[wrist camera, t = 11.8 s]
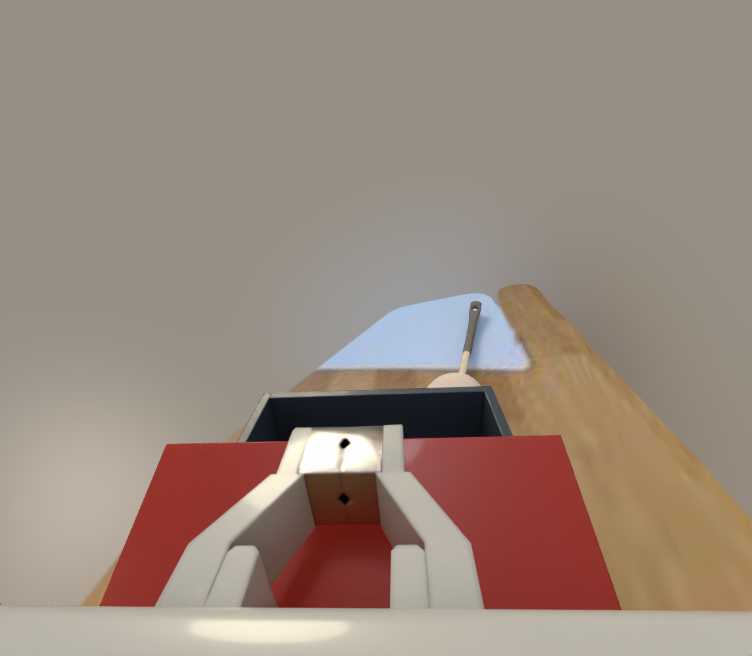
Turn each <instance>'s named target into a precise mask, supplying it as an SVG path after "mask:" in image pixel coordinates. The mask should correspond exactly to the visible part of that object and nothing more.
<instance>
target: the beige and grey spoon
mask: <svg viewBox="0 0 752 656" xmlns="http://www.w3.org/2000/svg"><path fill="white" fill-rule="evenodd" d="M472 309H478V310H477V311H473V310H472ZM480 311H481V302H478V301H474V302H471V305H470V312H469V325H468V330H467V336H466V341H465V345H464V349H463V356H462V360H461V364H460V368H459V372H458V373H448V374H445V375H441V376H440V377H438V378H437V379H435V380H434V381H433V382H432V383H431V384H430V385H429V386H428V387H427V388H441V387H472V386H481V385H480V384H479V383H478V382H477V381H476V380H475V379H474V378H472V377H471V376H469V375H467V374H466V371H467V366H468V361H469V356H470V354H471V349H472V344H473V339H474V334H475V329H476V324H477V320H478V317H479V314H480Z"/></svg>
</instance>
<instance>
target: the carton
mask: <svg viewBox="0 0 752 656" xmlns="http://www.w3.org/2000/svg"><path fill="white" fill-rule="evenodd" d="M401 424H402V426H403V439H414V438H458V437H502V436H513V435H512V433H511V430H510V428H509V426H508V424H507V421H506V419H505V417H504V414H503V412H502V410H501V408H500V405H499V403H498V401H497V398H496V396H495V394H494V392H493V389H492V387H491V386H483V387H482V386H472V387H441V388H411V389H380V390H350V391H319V392H289V393H264V394H263V396H262V397H261V399H260V401H259V403H258V405H257V406H256V408H255V410H254V412H253V414H252V415H251V417H250V419H249V421H248V423H247V424H246V426H245V428H244V430H243V432H242V433H241V435H240V437H239V439H238V441H237V442H236V443H238V442H282V441H289V438H290V436H291V433H292V431H293V430H294V429H295V428H313V427H362V426H384V425H401Z"/></svg>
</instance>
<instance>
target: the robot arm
mask: <svg viewBox="0 0 752 656" xmlns="http://www.w3.org/2000/svg"><path fill="white" fill-rule="evenodd" d="M335 524H372V525H381V527H382V529H383V531H384V533H385V535H386V536H387V538H388V540H389V542H390V544H391V546H392V547H393V550H392V551H391V586H390V608H278V606H277V603H276V601H275V598H274V595H273V592H272V589H271V586H272V584H273V583H274V582H275V580H276V579H277V578H278V576H279V575H280V574H281V572H282V571H283V570H284V568H285V567H286V566H287V564H288V563H289V562H290V561H291V559H292V558H293V557H294V555H295V554H296V553H297V551H298V550H299V549H300V547H301V546H302V545H303V543H304V542H305V541H306V539H307V538H308V537H309V535H310V534H311V533H312V531H313V530H314V529H315V525H335ZM0 656H752V611H669V610H536V609H484V604H483V599H482V595H481V590H480V585H479V580H478V575H477V570H476V566H475V561H474V556H473V551H472V546H471V543H470V542H469V540H468V539H467V538H466V537H465V536H464V534H463V533H462V532H461V531H460V530H459V529H458V527H457V526H456V525H455V524H454V523H453V521H452V520H451V519H450V518H449V517H448V516H447V514H446V513H445V512H444V511H443V510H442V509H441V507H440V506H439V505H438V504H437V503H436V501H435V500H434V499H433V498H432V497H431V496H430V494H429V493H428V492H427V491H426V490H425V488H424V487H423V486H422V485H421V484H420V483H419V481H418V480H417V479H416V478H415V477H414V476H413V474H412V473H411V472H405V460H404V441H403V426H402V424H401V425H384V426H362V427H313V428H295V429H294V430H293V431H292V433H291V436H290V438H289V441H288V444H287V446H286V449H285V452H284V454H283V457H282V460H281V462H280V465H279V468H278V470H277V473H276V474H270V475H269V476H268V477H267V478H266V479H265V480H263V481H262V482H261V483H260V484H259V485H257V486H256V487H255V488H254V489H253V490H252V491H250V492H249V493H248V494H247V495H246V496H244V497H243V498H242V499H241V500H240V501H238V502H237V503H236V504H235V505H234V506H233V507H231V508H230V509H229V510H228V511H227V512H225V513H224V514H223V515H222V516H221V517H220V518H218V519H217V520H216V521H215V522H214V523H212V524H211V525H210V526H209V527H208V528H206V529H205V530H204V531H203V532H202V533H201V534H199V535H198V536H197V537H196V538H195V539H193V540H192V541H191V542H190V543H189V544H188V545H187V547H186V549H185V551H184V553H183V555H182V556H181V558H180V560H179V562H178V564H177V566H176V568H175V570H174V571H173V573H172V575H171V577H170V579H169V581H168V583H167V584H166V586H165V588H164V590H163V592H162V594H161V596H160V597H159V599H158V601H157V603H156V605H155V607H121V606H0Z"/></svg>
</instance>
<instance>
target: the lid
mask: <svg viewBox="0 0 752 656" xmlns="http://www.w3.org/2000/svg"><path fill="white" fill-rule="evenodd" d="M403 441H404V460H405V472H411V473H412V474H413V476H414V477H415V478H416V479H417V480H418V481H419V483H420V484H421V485H422V486H423V487H424V488H425V490H426V491H427V492H428V493H429V494H430V496H431V497H432V498H433V499H434V500H435V501H436V503H437V504H438V505H439V506H440V507H441V509H442V510H443V511H444V512H445V513H446V514H447V516H448V517H449V518H450V519H451V520H452V521H453V523H454V524H455V525H456V526H457V527H458V529H459V530H460V531H461V532H462V533H463V534H464V536H465V537H466V538H467V539H468V540H469V542H470V543H471V546H472V551H473V556H474V561H475V566H476V570H477V575H478V580H479V585H480V590H481V595H482V599H483V604H484V609H536V610H621V607H620V604H619V601H618V598H617V596H616V593H615V590H614V587H613V584H612V581H611V578H610V575H609V573H608V570H607V567H606V564H605V561H604V558H603V555H602V552H601V550H600V547H599V544H598V541H597V538H596V535H595V532H594V530H593V527H592V524H591V521H590V518H589V515H588V512H587V509H586V507H585V504H584V501H583V498H582V495H581V492H580V489H579V486H578V484H577V481H576V478H575V475H574V472H573V469H572V466H571V464H570V461H569V458H568V455H567V452H566V449H565V446H564V443H563V441H562V438H561V436H560V435H546V436H502V437H458V438H414V439H403ZM287 444H288V441H282V442H238V443H194V444H167V445H166V447H165V449H164V452H163V454H162V456H161V459H160V461H159V464H158V466H157V468H156V471H155V473H154V476H153V478H152V481H151V483H150V486H149V488H148V490H147V493H146V495H145V498H144V500H143V502H142V505H141V508H140V510H139V512H138V514H137V517H136V520H135V522H134V524H133V527H132V529H131V531H130V534H129V536H128V539H127V541H126V544H125V546H124V548H123V551H122V553H121V556H120V558H119V560H118V563H117V565H116V568H115V570H114V572H113V575H112V577H111V580H110V582H109V585H108V587H107V589H106V592H105V594H104V597H103V599H102V602H101V604H100V606H121V607H155V605H156V603H157V601H158V599H159V597H160V596H161V594H162V592H163V590H164V588H165V586H166V584H167V583H168V581H169V579H170V577H171V575H172V573H173V571H174V570H175V568H176V566H177V564H178V562H179V560H180V558H181V556H182V555H183V553H184V551H185V549H186V547H187V545H188V544H189V543H190V542H191V541H192V540H193V539H195V538H196V537H197V536H198V535H199V534H201V533H202V532H203V531H204V530H205V529H206V528H208V527H209V526H210V525H211V524H212V523H214V522H215V521H216V520H217V519H218V518H220V517H221V516H222V515H223V514H224V513H225V512H227V511H228V510H229V509H230V508H231V507H233V506H234V505H235V504H236V503H237V502H238V501H240V500H241V499H242V498H243V497H244V496H246V495H247V494H248V493H249V492H250V491H252V490H253V489H254V488H255V487H256V486H257V485H259V484H260V483H261V482H262V481H263V480H265V479H266V478H267V477H268V476H269V475H270V474H276V473H277V470H278V468H279V465H280V462H281V460H282V457H283V454H284V452H285V449H286V446H287ZM392 550H393V547H392V546H391V544H390V542H389V540H388V538H387V536H386V535H385V533H384V531H383V529H382V527H381V525H372V524H335V525H315V529H314V530H313V531H312V533H311V534H310V535H309V537H308V538H307V539H306V541H305V542H304V543H303V545H302V546H301V547H300V549H299V550H298V551H297V553H296V554H295V555H294V557H293V558H292V559H291V561H290V562H289V563H288V564H287V566H286V567H285V568H284V570H283V571H282V572H281V574H280V575H279V576H278V578H277V579H276V580H275V582H274V583H273V584H272V586H271V589H272V592H273V595H274V598H275V601H276V603H277V606H278V608H390V586H391V551H392Z"/></svg>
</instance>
